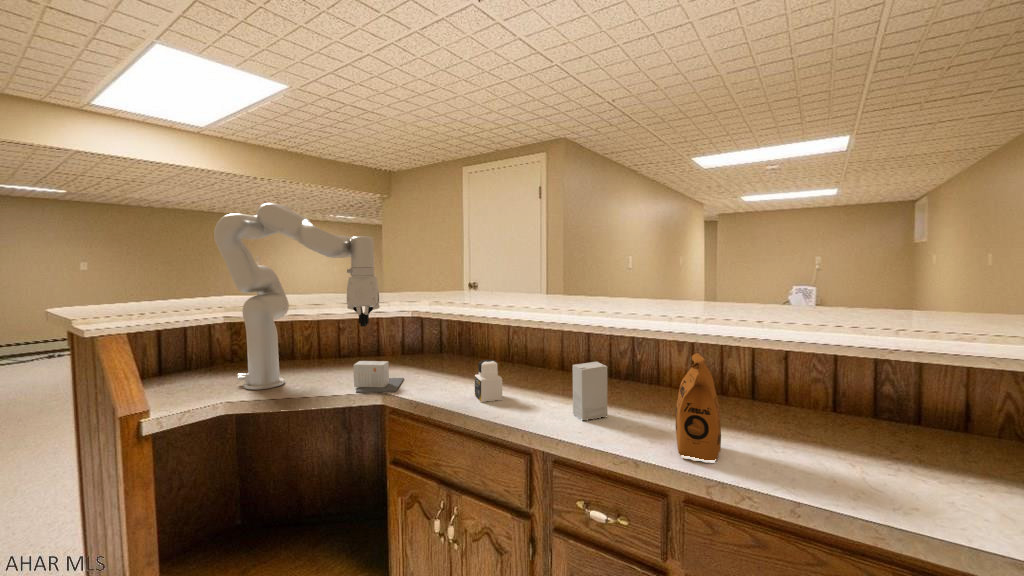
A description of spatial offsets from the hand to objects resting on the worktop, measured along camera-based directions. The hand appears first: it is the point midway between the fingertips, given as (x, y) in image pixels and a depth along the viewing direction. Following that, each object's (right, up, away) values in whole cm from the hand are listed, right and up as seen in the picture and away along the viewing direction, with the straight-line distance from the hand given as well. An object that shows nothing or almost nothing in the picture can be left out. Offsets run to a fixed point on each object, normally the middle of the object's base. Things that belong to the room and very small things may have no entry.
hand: (363, 325), depth 160 cm
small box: (-3, -17, 0) cm, 17 cm away
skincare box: (+73, -23, -30) cm, 82 cm away
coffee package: (+93, -25, -53) cm, 110 cm away
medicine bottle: (+44, -22, -13) cm, 50 cm away
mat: (+5, -21, +2) cm, 22 cm away
